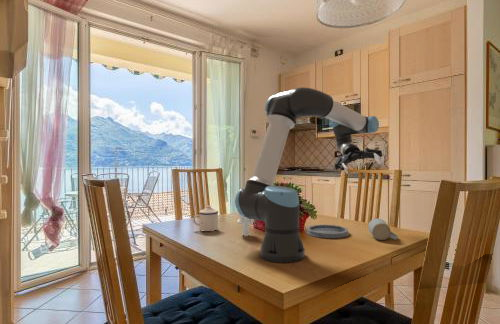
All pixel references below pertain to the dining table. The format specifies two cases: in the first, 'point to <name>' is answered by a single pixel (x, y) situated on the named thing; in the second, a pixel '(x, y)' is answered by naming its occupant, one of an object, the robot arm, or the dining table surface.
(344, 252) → the dining table surface
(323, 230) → the saucer
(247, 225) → the strainer
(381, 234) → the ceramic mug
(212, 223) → the teacup with lid
